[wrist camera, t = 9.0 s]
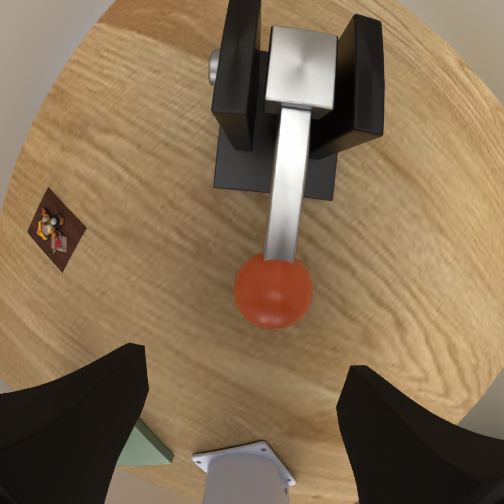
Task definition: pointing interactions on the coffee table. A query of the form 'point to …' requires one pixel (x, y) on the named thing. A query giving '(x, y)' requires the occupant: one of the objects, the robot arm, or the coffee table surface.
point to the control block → (143, 449)
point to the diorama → (56, 229)
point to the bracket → (264, 124)
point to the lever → (288, 174)
